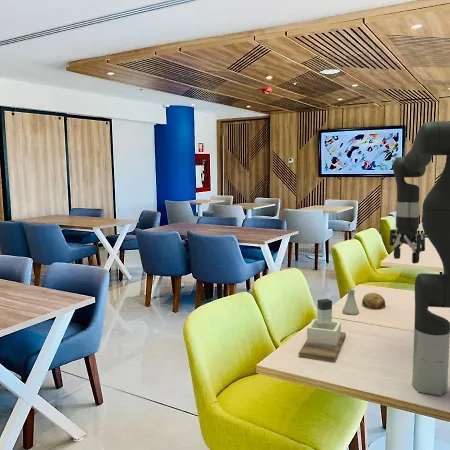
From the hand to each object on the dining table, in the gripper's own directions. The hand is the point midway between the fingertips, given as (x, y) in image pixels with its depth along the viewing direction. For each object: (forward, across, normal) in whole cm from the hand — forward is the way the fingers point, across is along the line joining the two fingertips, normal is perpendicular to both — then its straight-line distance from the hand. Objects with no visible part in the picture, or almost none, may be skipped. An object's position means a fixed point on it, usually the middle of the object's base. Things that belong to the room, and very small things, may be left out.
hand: (405, 260), depth 158 cm
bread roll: (+30, -38, +19) cm, 53 cm away
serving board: (+30, -9, -28) cm, 42 cm away
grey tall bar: (+28, -10, -27) cm, 40 cm away
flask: (+30, -35, +4) cm, 47 cm away
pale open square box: (+29, -10, -27) cm, 40 cm away
